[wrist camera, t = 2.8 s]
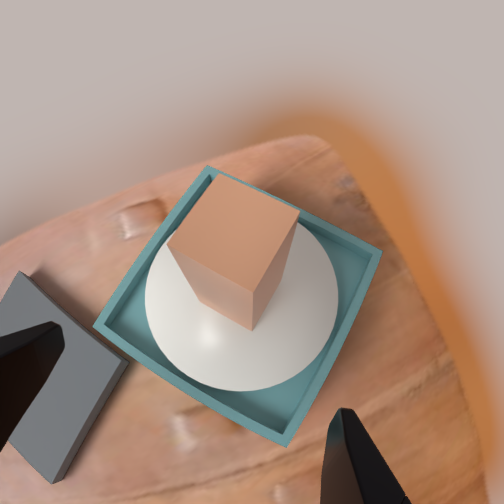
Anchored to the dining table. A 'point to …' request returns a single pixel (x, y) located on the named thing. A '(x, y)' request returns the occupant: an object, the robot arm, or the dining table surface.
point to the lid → (241, 291)
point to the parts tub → (263, 400)
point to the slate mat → (59, 381)
